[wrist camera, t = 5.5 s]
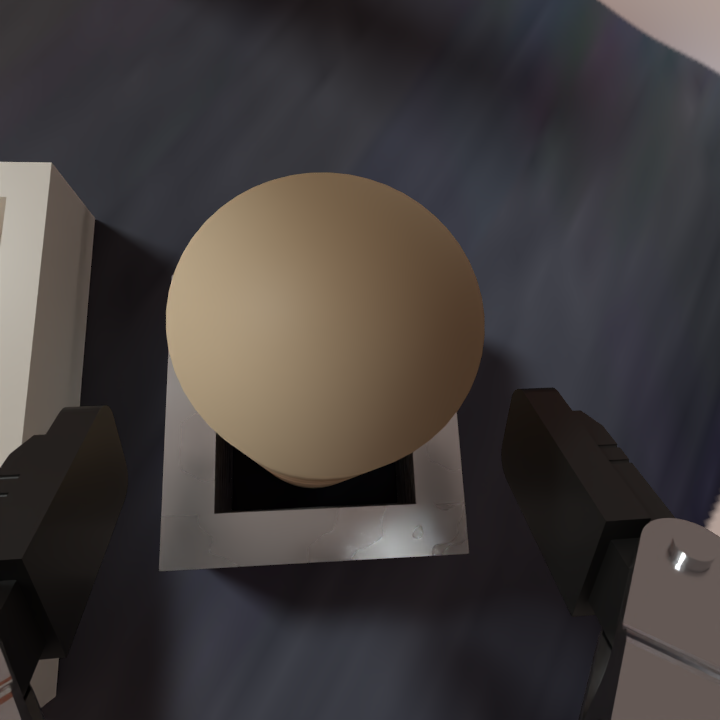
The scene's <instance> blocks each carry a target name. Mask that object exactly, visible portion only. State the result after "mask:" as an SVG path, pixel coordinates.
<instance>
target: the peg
mask: <svg viewBox="0 0 720 720" xmlns="http://www.w3.org/2000/svg"><path fill="white" fill-rule="evenodd" d="M166 334H167V341H168V349H169V353H170V357H171V360H172V364H173V367H174V371H175V373H176V376H177V378H178V380H179V382H180V384H181V387H182V389H183V391H184V393H185V394H186V396H187V397H188V399H189V401H190V402H191V404H192V405H193V407H194V409H195V410H196V411H197V412H198V413H199V415H200V416H201V417H202V418H203V419H204V420H205V422H206V423H207V424H208V425H209V426H210V427H211V428H212V429H213V430H214V431H215V432H216V433H218V434H219V435H220V436H221V437H222V438H223V439H224V440H225V441H227V442H228V443H230V444H231V445H232V446H234V447H235V448H237V449H238V450H239V451H241V452H242V453H244V454H245V455H246V456H248V457H249V458H251V459H252V460H254V461H255V462H256V463H258V464H259V465H261V466H262V467H263V468H265V469H266V470H268V471H269V472H270V473H272V474H273V475H275V476H276V477H278V478H279V479H281V480H282V481H284V482H286V483H288V484H291V485H294V486H297V487H302V488H312V489H314V488H324V487H328V486H332V485H335V484H337V483H340V482H343V481H345V480H348V479H351V478H353V477H356V476H359V475H361V474H364V473H367V472H369V471H372V470H374V469H377V468H380V467H382V466H385V465H388V464H390V463H393V462H395V461H397V460H399V459H401V458H403V457H405V456H407V455H409V454H411V453H412V452H414V451H415V450H417V449H418V448H420V447H421V446H423V445H424V444H425V443H427V442H428V441H430V440H431V439H432V438H433V437H434V436H435V435H436V434H437V433H438V432H439V431H440V430H442V429H443V428H444V427H445V426H446V425H447V423H448V422H449V421H450V420H451V418H452V417H453V416H454V415H455V413H456V412H457V411H458V410H459V408H460V406H461V405H462V403H463V401H464V400H465V398H466V396H467V395H468V393H469V391H470V389H471V386H472V384H473V382H474V379H475V377H476V375H477V371H478V368H479V364H480V360H481V357H482V351H483V343H484V310H483V303H482V297H481V293H480V289H479V286H478V282H477V279H476V276H475V274H474V272H473V269H472V267H471V264H470V262H469V260H468V258H467V257H466V255H465V253H464V252H463V250H462V248H461V246H460V245H459V243H458V242H457V241H456V239H455V238H454V237H453V235H452V234H451V233H450V231H449V230H448V229H447V228H446V227H445V226H444V225H443V224H442V223H441V222H440V221H439V220H438V219H437V218H436V217H435V216H434V215H433V214H432V213H431V212H429V211H428V210H427V209H426V208H424V207H423V206H422V205H421V204H419V203H418V202H416V201H415V200H413V199H412V198H410V197H408V196H407V195H405V194H404V193H402V192H400V191H397V190H395V189H393V188H391V187H389V186H387V185H384V184H382V183H379V182H376V181H373V180H370V179H367V178H362V177H358V176H353V175H348V174H338V173H306V174H298V175H291V176H287V177H283V178H279V179H275V180H271V181H269V182H266V183H263V184H261V185H258V186H256V187H253V188H251V189H250V190H248V191H246V192H244V193H242V194H240V195H238V196H237V197H235V198H234V199H232V200H231V201H229V202H228V203H227V204H225V205H224V206H222V207H221V208H220V209H219V210H218V211H217V212H215V213H214V214H213V215H212V216H211V217H210V218H209V219H208V220H207V221H206V222H205V223H204V224H203V225H202V227H201V228H200V229H199V230H198V231H197V233H196V234H195V235H194V236H193V238H192V239H191V241H190V243H189V244H188V246H187V247H186V249H185V250H184V252H183V254H182V256H181V258H180V261H179V263H178V265H177V267H176V269H175V272H174V275H173V279H172V282H171V285H170V289H169V294H168V301H167V308H166Z"/></svg>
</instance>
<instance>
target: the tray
mask: <svg viewBox="0 0 720 720" xmlns="http://www.w3.org/2000/svg"><path fill="white" fill-rule="evenodd" d="M94 225H95V218H94V216H93V215H92V214H91V213H90V211H89V210H88V209H87V207H86V206H85V205H84V204H83V202H82V201H81V200H80V198H79V197H78V196H77V195H76V193H75V192H74V191H73V189H72V188H71V187H70V186H69V184H68V183H67V182H66V180H65V179H64V178H63V177H62V175H61V174H60V173H59V171H58V170H57V169H56V168H55V166H54V165H53V164H52V163H41V162H0V467H1V466H2V464H3V463H4V461H5V460H6V458H7V457H8V456H9V454H10V453H12V452H13V451H14V450H15V449H17V448H18V447H19V446H20V445H22V444H23V443H24V442H26V441H27V440H28V439H29V438H31V437H32V436H33V435H44V434H46V433H47V431H48V430H49V428H50V427H51V425H52V423H53V422H54V420H55V419H56V417H57V415H58V414H59V412H60V411H61V410H62V409H63V408H65V407H79V406H80V396H81V384H82V372H83V359H84V347H85V335H86V323H87V311H88V299H89V286H90V274H91V262H92V250H93V238H94ZM58 664H59V658H54V659H43V660H39V662H38V664H37V666H36V669H35V671H34V674H33V676H32V679H31V681H30V684H31V686H32V688H33V690H34V692H35V695H36V697H37V700H38V702H39V705H40V707H43V706H44V705H45V704H47V703H48V702H49V701H50V700H52V699H53V698H54V697H56V688H57V676H58Z"/></svg>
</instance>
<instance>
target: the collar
mask: <svg viewBox="0 0 720 720" xmlns="http://www.w3.org/2000/svg"><path fill="white" fill-rule="evenodd" d="M172 279H173V275H172ZM171 282H172V280H171ZM395 472H396V489H397V503H382V504H360V505H339V506H318V507H297V508H276V509H254V510H233V511H232V499H233V446H232V445H231V444H230V443H228V442H227V441H225V440H224V439H223V438H222V437H221V436H220V435H219V434H218V433H216V432H215V431H214V430H213V429H212V428H211V427H210V426H209V425H208V424H207V423H206V422H205V420H204V419H203V418H202V417H201V416H200V415H199V413H198V412H197V411H196V410H195V409H194V407H193V405H192V404H191V402H190V401H189V399H188V397H187V396H186V394H185V393H184V391H183V389H182V387H181V384H180V382H179V380H178V378H177V376H176V373H175V371H174V367H173V364H172V360H171V357H170V353H169V350H168V373H167V396H166V420H165V443H164V466H163V489H162V512H161V536H160V559H159V571H173V570H191V569H208V568H226V567H243V566H261V565H278V564H296V563H314V562H331V561H349V560H366V559H384V558H401V557H419V556H436V555H454V554H469V546H468V535H467V524H466V512H465V501H464V490H463V478H462V467H461V455H460V444H459V433H458V421H457V412H456V413H455V415H454V416H453V417H452V418H451V420H450V421H449V422H448V423H447V425H446V426H445V427H444V428H443V429H442V430H440V431H439V432H438V433H437V434H436V435H435V436H434V437H433V438H432V439H431V440H430V441H428V442H427V443H425V444H424V445H423V446H421V447H420V448H418V449H417V450H415V451H414V452H412V453H411V454H409V455H407V456H405V457H403V458H401V459H399V460H397V461H395Z"/></svg>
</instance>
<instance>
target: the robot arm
mask: <svg viewBox="0 0 720 720" xmlns="http://www.w3.org/2000/svg"><path fill="white" fill-rule="evenodd" d="M501 457H502V466H503V471H504V474H505V477H506V479H507V481H508V483H509V486H510V488H511V490H512V492H513V494H514V496H515V498H516V500H517V502H518V504H519V507H520V509H521V511H522V513H523V515H524V517H525V519H526V521H527V523H528V526H529V528H530V530H531V532H532V534H533V536H534V538H535V540H536V542H537V544H538V547H539V549H540V551H541V553H542V555H543V557H544V559H545V561H546V563H547V566H548V568H549V570H550V572H551V574H552V576H553V578H554V580H555V582H556V585H557V587H558V589H559V591H560V593H561V595H562V597H563V599H564V601H565V603H566V606H567V608H568V610H569V612H570V614H571V616H572V617H574V616H585V615H596V616H597V618H598V620H599V622H600V624H601V626H602V629H601V632H600V634H599V637H598V640H597V644H596V648H595V652H594V657H593V661H592V665H591V669H590V673H589V677H588V681H587V685H586V690H585V694H584V698H583V702H582V706H581V710H580V714H579V718H578V720H720V537H719V536H717V535H716V534H714V533H713V532H711V531H709V530H708V529H706V528H704V527H702V526H700V525H697V524H695V523H692V522H689V521H686V520H681V519H676V518H675V517H674V516H673V515H672V513H671V512H670V511H669V509H668V508H667V507H666V506H665V504H664V503H663V502H662V501H661V499H660V498H659V497H658V495H657V494H656V493H655V492H654V490H653V489H652V488H651V487H650V485H649V484H648V483H647V481H646V480H645V479H644V478H643V476H642V475H641V474H640V473H639V471H638V470H637V469H636V468H635V466H634V465H633V464H632V463H629V459H628V457H627V456H626V455H625V454H624V452H623V451H622V450H621V448H617V443H616V442H615V441H614V440H613V438H612V437H611V436H610V434H609V433H608V432H607V431H606V429H605V428H604V427H603V426H602V425H601V424H599V423H598V422H596V421H595V420H594V419H592V418H591V417H589V416H588V415H586V414H585V413H583V412H582V411H572V410H571V408H570V407H569V406H568V404H567V403H566V402H565V400H564V399H563V398H562V396H561V395H560V393H559V392H558V391H557V390H556V389H555V388H531V389H517V390H515V391H514V393H513V395H512V399H511V404H510V409H509V414H508V419H507V424H506V429H505V434H504V439H503V444H502V452H501ZM127 486H128V471H127V465H126V461H125V457H124V454H123V450H122V446H121V442H120V439H119V435H118V431H117V427H116V424H115V420H114V416H113V413H112V411H111V409H110V408H109V407H108V406H106V405H103V406H79V407H65V408H63V409H62V410H61V411H60V412H59V414H58V415H57V417H56V419H55V420H54V422H53V423H52V425H51V427H50V428H49V430H48V431H47V433H46V434H44V435H33V436H32V437H31V438H29V439H28V440H27V441H26V442H24V443H23V444H22V445H20V446H19V447H18V448H17V449H15V450H14V451H13V452H12V453H10V454H9V456H8V457H7V458H6V460H5V461H4V463H3V464H2V466H1V467H0V720H45V717H44V715H43V712H42V710H41V707H40V705H39V702H38V700H37V697H36V695H35V692H34V690H33V688H32V686H31V684H30V681H31V679H32V676H33V674H34V671H35V669H36V666H37V664H38V662H39V660H43V659H54V658H66V657H67V655H68V652H69V649H70V647H71V644H72V641H73V638H74V636H75V633H76V630H77V628H78V625H79V622H80V619H81V617H82V614H83V611H84V609H85V606H86V603H87V600H88V598H89V595H90V592H91V590H92V587H93V584H94V582H95V579H96V576H97V573H98V571H99V568H100V565H101V563H102V560H103V557H104V554H105V552H106V549H107V546H108V544H109V541H110V538H111V535H112V533H113V530H114V527H115V525H116V522H117V519H118V516H119V514H120V511H121V508H122V506H123V503H124V500H125V497H126V493H127Z"/></svg>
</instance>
